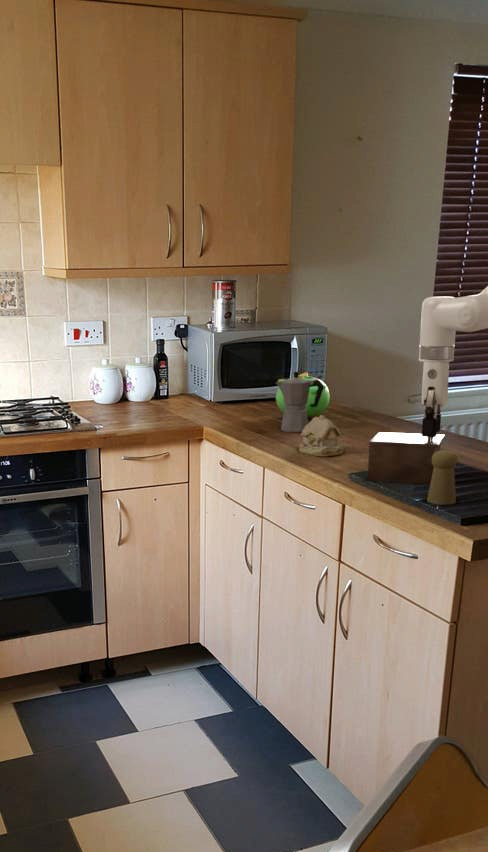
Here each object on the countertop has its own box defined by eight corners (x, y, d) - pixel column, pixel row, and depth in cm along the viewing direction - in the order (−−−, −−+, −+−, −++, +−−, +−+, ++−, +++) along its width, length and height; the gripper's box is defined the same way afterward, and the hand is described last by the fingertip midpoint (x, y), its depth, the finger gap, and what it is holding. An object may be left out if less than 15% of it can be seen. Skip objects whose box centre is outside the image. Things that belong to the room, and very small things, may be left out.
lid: (444, 438, 207) (446, 415, 206) (438, 447, 196) (440, 423, 195) (378, 435, 213) (379, 413, 211) (369, 444, 202) (370, 421, 201)
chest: (438, 474, 211) (440, 438, 208) (431, 486, 200) (434, 448, 197) (377, 471, 216) (378, 435, 213) (367, 482, 205) (369, 445, 202)
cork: (447, 498, 189) (451, 447, 185) (461, 505, 183) (465, 453, 180) (421, 500, 188) (424, 449, 184) (434, 507, 182) (438, 455, 179)
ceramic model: (290, 449, 245) (291, 413, 242) (324, 445, 249) (325, 410, 246) (319, 458, 233) (320, 420, 230) (353, 453, 237) (355, 416, 234)
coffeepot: (270, 431, 274) (270, 372, 268) (280, 426, 282) (281, 369, 276) (317, 434, 267) (319, 374, 261) (326, 429, 275) (328, 370, 269)
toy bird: (330, 414, 303) (331, 370, 298) (327, 422, 287) (328, 376, 283) (278, 413, 307) (278, 371, 302) (272, 421, 291) (273, 376, 287)
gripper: (449, 357, 187) (443, 441, 193) (457, 350, 202) (451, 428, 208) (413, 357, 190) (408, 439, 196) (424, 350, 205) (419, 427, 211)
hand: (430, 433), depth 202 cm, fingers closed on lid, 6 cm apart
